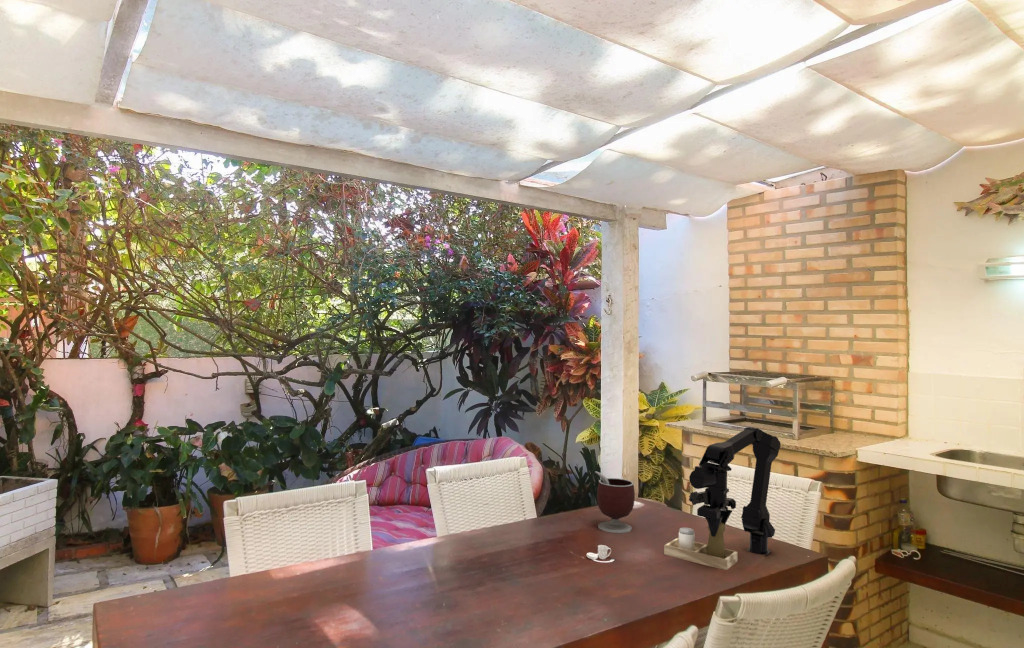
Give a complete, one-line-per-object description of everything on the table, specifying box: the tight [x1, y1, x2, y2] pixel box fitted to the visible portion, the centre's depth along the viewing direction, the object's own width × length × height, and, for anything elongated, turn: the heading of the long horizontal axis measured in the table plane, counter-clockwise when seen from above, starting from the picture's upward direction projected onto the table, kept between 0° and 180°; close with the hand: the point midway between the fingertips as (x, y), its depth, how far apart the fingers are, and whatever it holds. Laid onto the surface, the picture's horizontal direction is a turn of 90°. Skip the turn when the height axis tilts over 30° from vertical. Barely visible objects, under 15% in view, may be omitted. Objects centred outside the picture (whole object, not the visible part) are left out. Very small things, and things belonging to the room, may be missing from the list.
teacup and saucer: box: [586, 544, 616, 563], centre depth 206 cm, size 9×8×4 cm
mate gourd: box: [594, 471, 636, 534], centre depth 239 cm, size 16×14×20 cm
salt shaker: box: [678, 527, 696, 551], centre depth 210 cm, size 5×5×8 cm
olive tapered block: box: [706, 522, 726, 559], centre depth 204 cm, size 6×6×11 cm
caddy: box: [663, 537, 739, 571], centre depth 207 cm, size 11×20×4 cm, turn 52°
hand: (716, 534), depth 204 cm, fingers closed on olive tapered block, 5 cm apart
